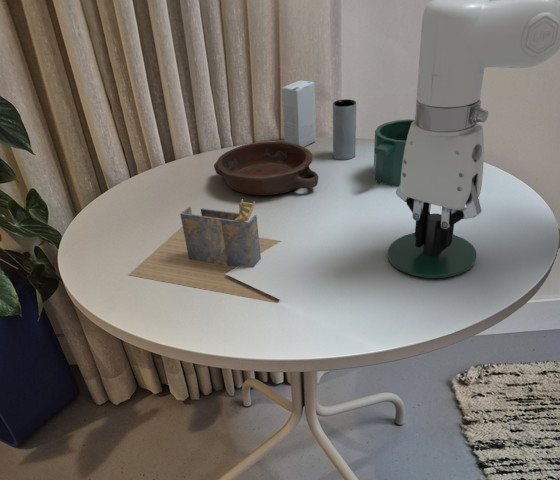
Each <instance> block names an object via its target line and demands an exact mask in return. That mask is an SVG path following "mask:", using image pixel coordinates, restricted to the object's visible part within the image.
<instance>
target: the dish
mask: <svg viewBox="0 0 560 480" xmlns="http://www.w3.org/2000/svg"><path fill="white" fill-rule="evenodd" d="M313 159H314V156H313V153H312V152H311V150H309V149H308V148H306V147H302V146H300V145H297V144H293V143H289V142H285V141H277V140H276V141H261V142H260V141H259V142H253V143H252V142H251V143H247V144H244V145H241V146H238V147H235V148H232V149H231V150H228V151H226V152H224V153H223V154H221V155H220V156H219V157H218V159H217V160H216V162H215V163H214V165H213V168H214V170H215V173H216V174H217V175H218V176H221V177H223V178H224V181H225V182H226V184H227V185H228V186H229V187H230V188H231V189H232V190H234V191H236V192H239V193H242V194H247V195H254V196H273V195H279V194H286V193H288V192H291V191H294V190H295V189H312V188H315V187H317V186H318V183H319V175H318V173H317V172H316V171H313V169H311V168H310V165H311V164H312V162H313Z"/></svg>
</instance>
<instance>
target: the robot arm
mask: <svg viewBox="0 0 560 480" xmlns="http://www.w3.org/2000/svg"><path fill="white" fill-rule="evenodd" d="M420 31H421V32H420V45H419V60H418V73H417V87H416V99H415V100H416V102H415V114H414V115H415V116H414V120H415V121H413V122H412V123H411V126H410V129H409V133H408V136H407V140H406V145H405V149H404V156H403V162H402V171H401V183H400V185H399V186H397V189H396V191H395V194H396V196H397V197H398V198H399V199H401V200H402V201H403V202H404V203H406V205H407V207H408V208H409V210H410V211H411V213H412V219H413V220H414V221H415V227H414V229H415V230H414V233H415V237H416V243H415V246H416V247H421V246H423V245H424V239H425V229H426V218H427V216H428V215H429V214H431V208H432V205H434V206H437V207H441V213H440V214H441V225H440V226H439V227H438V228H437V229H436V238H435V247H434V252H435V253H437V254H439V253H441V252H442V251H443V250H445V249H446V248H447V247H449V246H450V245H451V243H452V238H453V235H454V229H455V224H456V223H458V222H460V221H461V220H467V219H472V218H476V217H477V216H479V215H480V214H481V213H482V206H481V203H480V199H479V198H480V194H481V192H482V185H483V175H484V161H485V160H484V159H485V140H484V129H483V127H484V126H483V125H481V124H479V123H486V122H487V120H488V117H489V111H488V110H485V109H483V108H481V106H482V105H481V104H482V100H481V95H482V87H483V80H484V73H485V69H486V68H504V69H528V68H532V67H536V66H539V65H541V64H544V63H545V62H547V61H548V60H551V58H552V57H554V55H556V54H557V53H558V52H559V51H560V0H430V1H429V2H428V3H427V4H426V6H425V7H424V10H423V13H422V20H421V30H420Z"/></svg>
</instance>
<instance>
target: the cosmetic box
mask: <svg viewBox="0 0 560 480" xmlns="http://www.w3.org/2000/svg"><path fill="white" fill-rule="evenodd" d="M281 97H282V117H283V119H282V120H283V135H284V136H283V137H284V142H289V143H293V144H297V145H300V146H302V147H304V148H306V147H307V146H309V145H310V144H313V143H315V142H316V141H317V121H316V120H317V119H316V83H315V81H309V80H302V79H301V80H297V81H295V82H292V83H290V84H287V85H285V86H282V87H281Z"/></svg>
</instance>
